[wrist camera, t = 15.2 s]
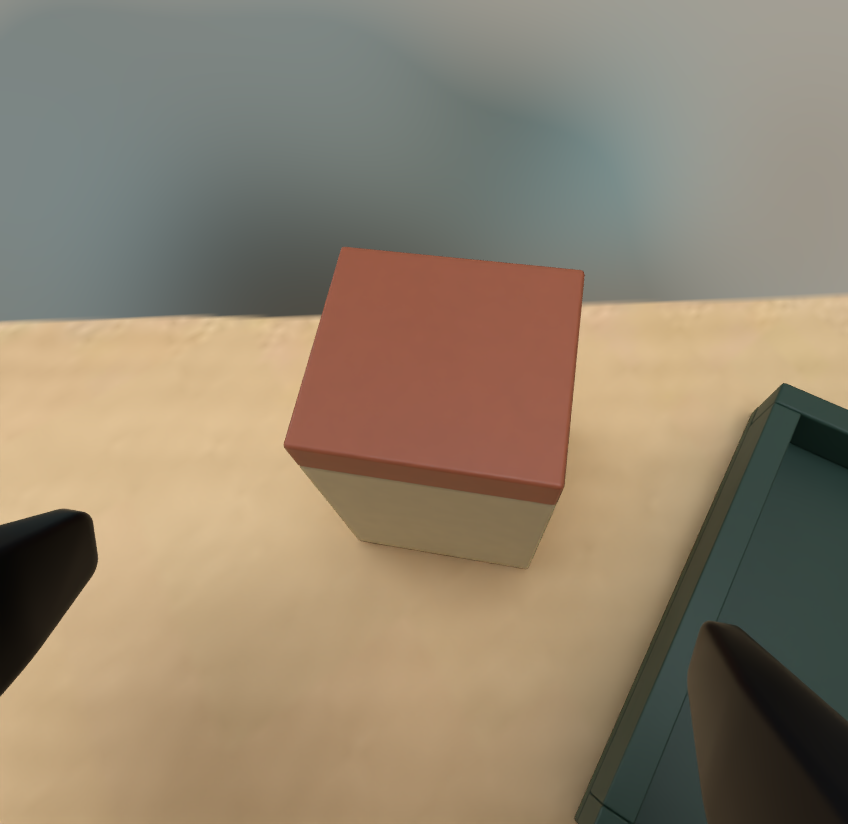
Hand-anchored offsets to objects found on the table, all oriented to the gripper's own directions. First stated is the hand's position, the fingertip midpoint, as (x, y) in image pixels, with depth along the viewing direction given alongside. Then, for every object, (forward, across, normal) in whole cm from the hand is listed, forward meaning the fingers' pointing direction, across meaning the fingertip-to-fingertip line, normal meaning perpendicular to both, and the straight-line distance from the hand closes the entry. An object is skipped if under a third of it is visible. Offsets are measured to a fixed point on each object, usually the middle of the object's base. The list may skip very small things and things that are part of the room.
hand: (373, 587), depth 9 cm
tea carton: (+11, 0, +4) cm, 12 cm away
